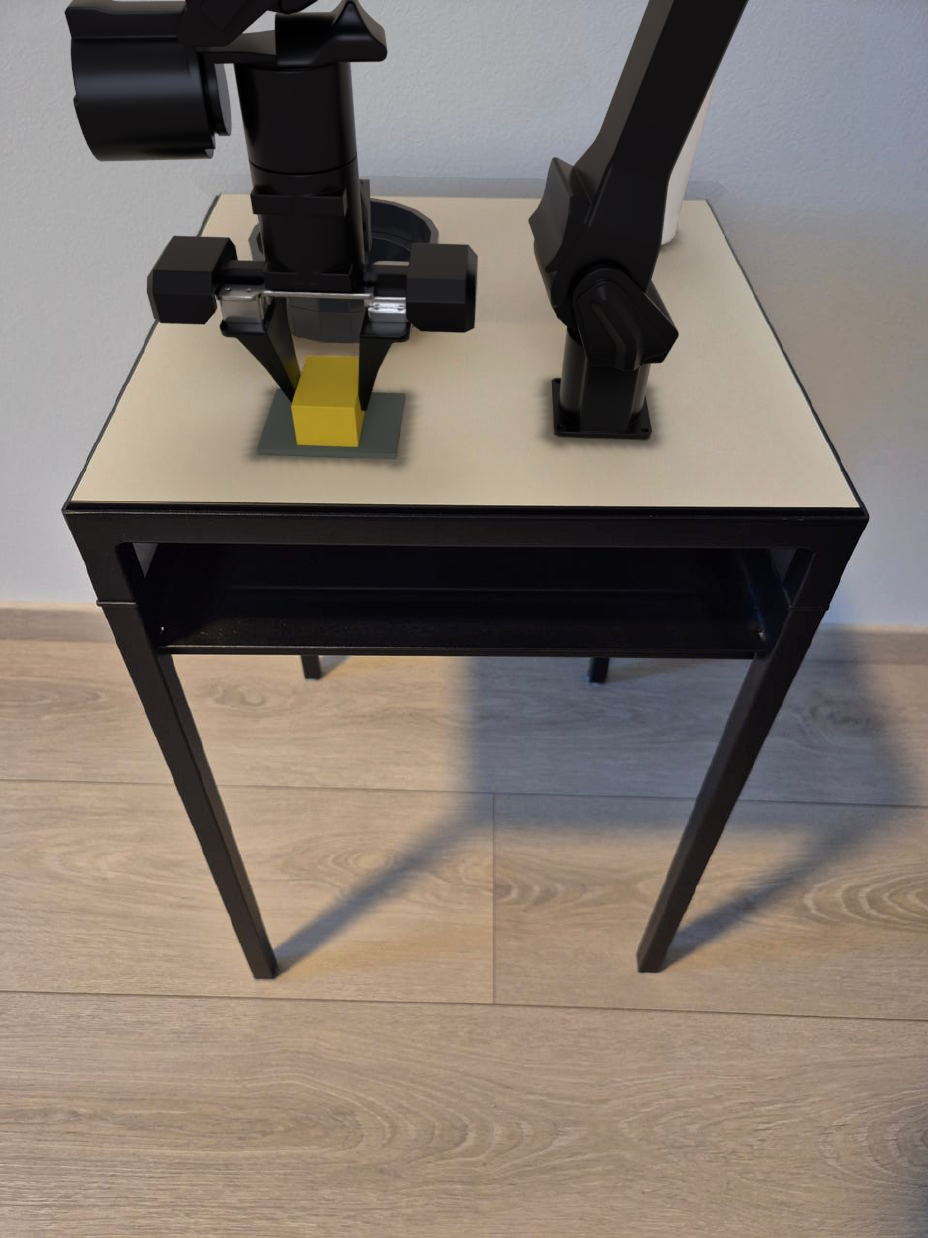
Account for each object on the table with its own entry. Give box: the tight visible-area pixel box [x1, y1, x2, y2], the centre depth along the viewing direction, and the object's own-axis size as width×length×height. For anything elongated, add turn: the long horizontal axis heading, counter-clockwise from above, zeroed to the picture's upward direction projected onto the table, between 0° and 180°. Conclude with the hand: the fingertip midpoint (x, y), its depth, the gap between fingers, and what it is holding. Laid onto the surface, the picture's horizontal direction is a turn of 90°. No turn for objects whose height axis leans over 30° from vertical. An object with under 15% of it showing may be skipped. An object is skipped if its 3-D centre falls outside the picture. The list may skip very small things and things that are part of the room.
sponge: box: [291, 354, 365, 447], centre depth 57 cm, size 6×4×3 cm, turn 178°
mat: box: [256, 388, 406, 460], centre depth 58 cm, size 7×9×1 cm
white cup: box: [661, 74, 717, 246], centre depth 73 cm, size 7×7×15 cm
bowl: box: [247, 197, 440, 344], centre depth 67 cm, size 14×14×6 cm
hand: (332, 406), depth 57 cm, fingers closed on sponge, 4 cm apart
